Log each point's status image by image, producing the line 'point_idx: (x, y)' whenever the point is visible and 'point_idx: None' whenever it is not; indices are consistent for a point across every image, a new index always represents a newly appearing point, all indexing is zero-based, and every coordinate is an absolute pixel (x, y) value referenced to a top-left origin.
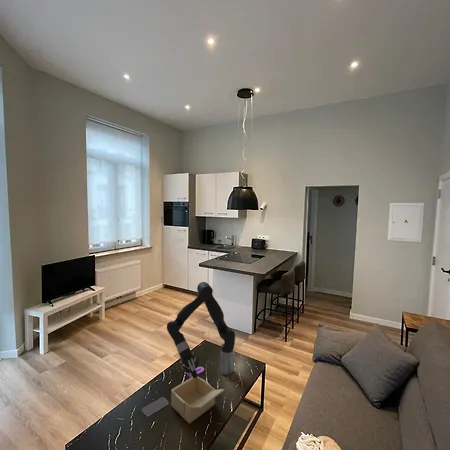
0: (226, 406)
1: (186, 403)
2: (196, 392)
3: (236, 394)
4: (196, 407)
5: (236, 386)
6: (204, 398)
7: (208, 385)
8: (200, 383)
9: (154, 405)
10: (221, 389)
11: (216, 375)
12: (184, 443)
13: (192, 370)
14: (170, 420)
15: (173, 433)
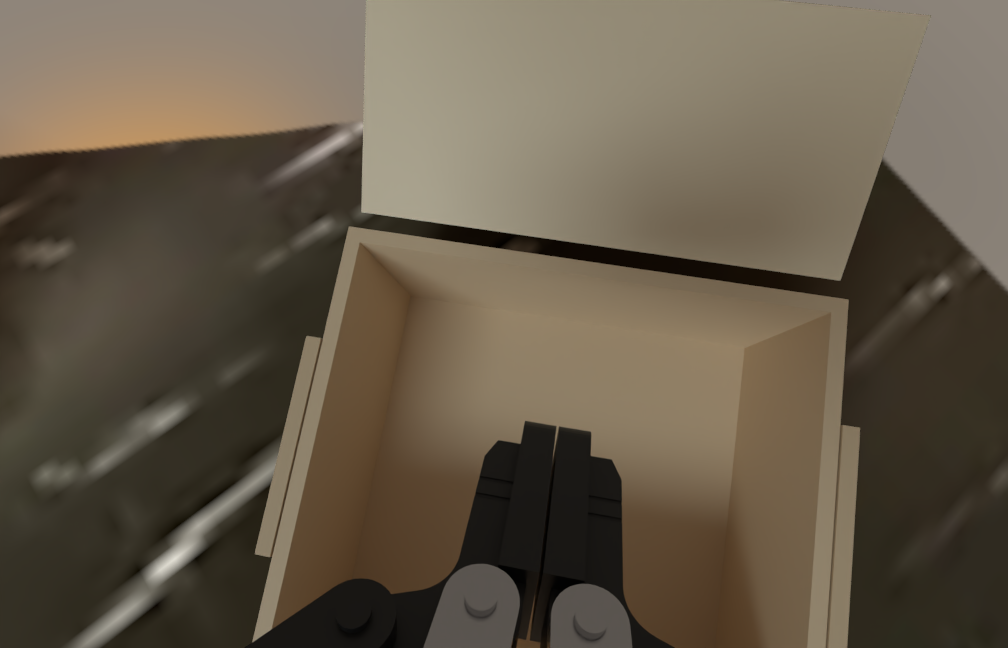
0: (361, 179)
1: (831, 390)
2: (384, 564)
3: (171, 186)
4: (884, 139)
5: (66, 246)
6: (616, 206)
7: (334, 357)
8: (317, 542)
9: None
10: (372, 37)
11: (3, 547)
12: (933, 238)
13: (609, 622)
14: (861, 540)
15: (940, 395)
